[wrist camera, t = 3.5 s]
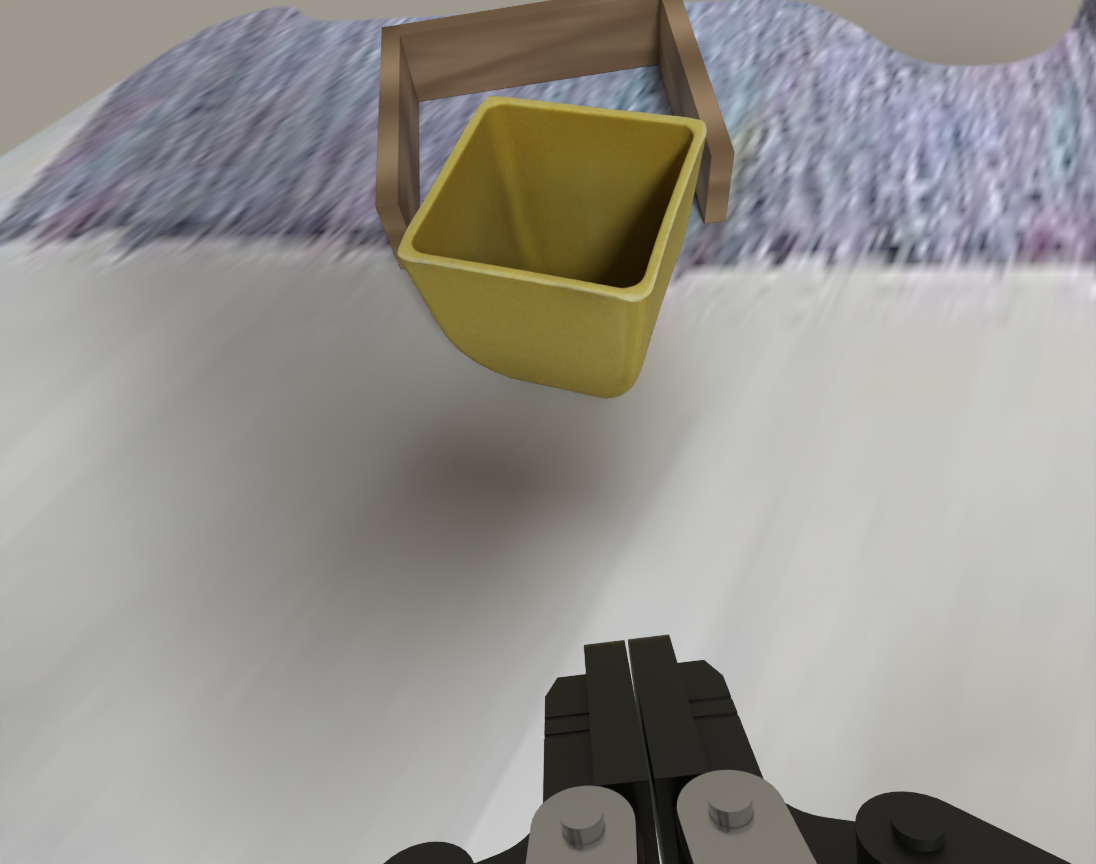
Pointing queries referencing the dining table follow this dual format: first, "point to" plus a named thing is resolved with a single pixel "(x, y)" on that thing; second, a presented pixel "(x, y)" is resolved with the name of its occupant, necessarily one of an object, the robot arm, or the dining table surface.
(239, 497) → the dining table surface
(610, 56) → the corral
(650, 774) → the robot arm
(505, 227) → the flower pot
